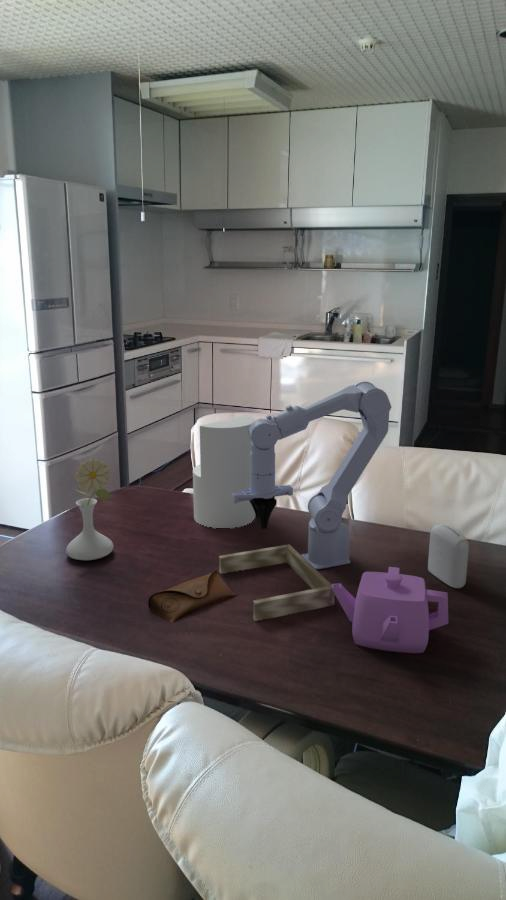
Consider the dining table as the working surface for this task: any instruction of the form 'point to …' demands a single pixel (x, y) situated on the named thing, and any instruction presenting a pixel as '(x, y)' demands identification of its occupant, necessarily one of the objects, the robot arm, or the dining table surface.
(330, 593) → the open wooden frame
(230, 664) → the dining table surface
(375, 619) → the teakettle
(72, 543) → the flower in vase
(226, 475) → the cylinder
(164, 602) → the sunglasses case
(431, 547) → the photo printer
